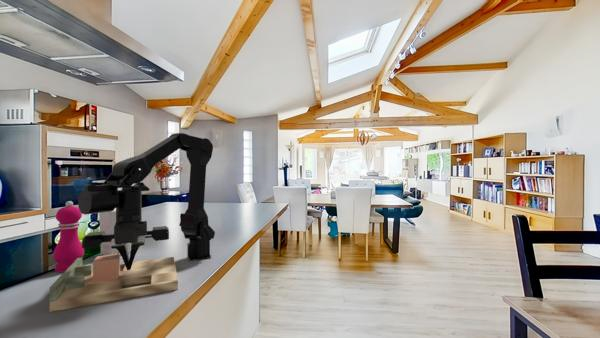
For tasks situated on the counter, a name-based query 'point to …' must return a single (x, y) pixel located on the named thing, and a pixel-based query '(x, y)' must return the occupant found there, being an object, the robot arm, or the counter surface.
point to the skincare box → (109, 232)
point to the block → (106, 268)
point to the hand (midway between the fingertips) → (128, 269)
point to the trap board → (112, 283)
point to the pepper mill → (68, 237)
